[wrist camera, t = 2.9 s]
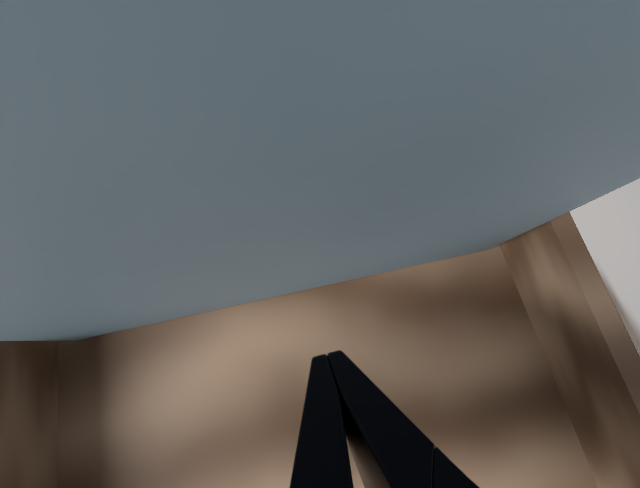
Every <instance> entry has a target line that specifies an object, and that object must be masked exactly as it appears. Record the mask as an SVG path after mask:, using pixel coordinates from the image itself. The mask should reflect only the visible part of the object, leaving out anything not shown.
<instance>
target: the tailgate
mask: <svg viewBox="0 0 640 488" xmlns="http://www.w3.org/2000/svg"><path fill="white" fill-rule="evenodd" d="M639 178H640V0H0V341H76V340H81V339H85V338H90V337H94V336H99V335H103V334H108V333H112V332H117V331H122V330H126V329H131V328H135V327H140V326H144V325H149V324H153V323H158V322H162V321H167V320H171V319H176V318H180V317H185V316H189V315H194V314H199V313H203V312H208V311H212V310H217V309H221V308H226V307H230V306H235V305H239V304H244V303H248V302H253V301H257V300H262V299H267V298H271V297H276V296H280V295H285V294H289V293H294V292H298V291H303V290H307V289H312V288H316V287H321V286H325V285H330V284H335V283H339V282H344V281H348V280H353V279H357V278H362V277H366V276H371V275H375V274H380V273H384V272H389V271H393V270H398V269H403V268H407V267H412V266H416V265H421V264H425V263H430V262H434V261H439V260H443V259H448V258H452V257H457V256H461V255H466V254H471V253H475V252H480V251H484V250H489V249H491V248H493V247H495V246H497V245H499V244H502V243H504V242H506V241H508V240H510V239H512V238H514V237H516V236H518V235H521V234H523V233H525V232H527V231H529V230H531V229H533V228H535V227H537V226H540V225H542V224H544V223H546V222H548V221H550V220H552V219H554V218H556V217H559V216H561V215H563V214H565V213H567V212H569V211H571V210H573V209H575V208H577V207H579V206H582V205H584V204H586V203H588V202H590V201H592V200H594V199H596V198H599V197H601V196H603V195H605V194H607V193H609V192H611V191H613V190H615V189H617V188H620V187H622V186H624V185H626V184H628V183H630V182H632V181H634V180H636V179H639Z"/></svg>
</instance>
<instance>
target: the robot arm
mask: <svg viewBox="0 0 640 488" xmlns="http://www.w3.org/2000/svg"><path fill="white" fill-rule="evenodd" d="M347 442H348V445H349V448H350V450H351V453H352V456H353V458H354V461H355V464H356V466H357V469H358V471H359V474H360V477H361V479H362V482H363V485H364V487H365V488H480V487H478V486H477V485H476V484H475V483H474V482H473V481H472V480H471V479H469V478H468V477H467V476H466V475H465V474H464V473H463V472H462V471H461V470H460V469H459V468H458V467H457V466H456V465H455V464H454V463H453V462H452V461H451V460H450V459H449V458H448V457H447V456H446V455H445V454H444V453H443V452H442V451H441V450H440V449H439V448H438V447H435V445H434V443H433V442H432V441H431V440H430V439H429V438H428V437H427V436H426V435H425V434H424V433H423V432H422V431H421V430H420V429H419V428H418V427H417V426H416V425H415V424H414V423H413V422H412V421H411V420H410V419H409V418H408V417H407V416H406V415H405V414H404V413H403V412H402V411H401V410H400V409H399V408H398V407H397V406H396V405H395V404H394V403H393V402H392V401H391V400H390V399H389V398H388V397H387V396H386V395H385V394H384V393H383V392H382V391H381V390H380V389H379V388H378V387H377V386H376V385H375V384H374V383H373V382H372V381H371V380H370V379H369V378H368V377H367V376H366V375H365V374H364V373H363V372H362V371H361V369H360V368H359V367H358V366H357V365H356V364H355V363H354V362H353V361H352V360H351V359H350V358H349V357H348V356H347V355H346V354H345V353H344V352H343V351H341V350H337V351H333V352H329V353H328V354H327V355H326V354H321V355H317V356H314V357H313V358H312V360H311V366H310V371H309V377H308V383H307V389H306V395H305V400H304V406H303V412H302V418H301V424H300V429H299V435H298V441H297V447H296V453H295V458H294V464H293V470H292V476H291V482H290V487H289V488H354V486H353V479H352V473H351V466H350V459H349V453H348V446H347Z"/></svg>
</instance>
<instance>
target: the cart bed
mask: <svg viewBox="0 0 640 488" xmlns="http://www.w3.org/2000/svg"><path fill="white" fill-rule="evenodd" d="M337 350H341V351H343V352H344V353H345V354H346V355H347V356H348V357H349V358H350V359H351V360H352V361H353V362H354V363H355V364H356V365H357V366H358V367H359V368H360V369H361V371H362V372H363V373H364V374H365V375H366V376H367V377H368V378H369V379H370V380H371V381H372V382H373V383H374V384H375V385H376V386H377V387H378V388H379V389H380V390H381V391H382V392H383V393H384V394H385V395H386V396H387V397H388V398H389V399H390V400H391V401H392V402H393V403H394V404H395V405H396V406H397V407H398V408H399V409H400V410H401V411H402V412H403V413H404V414H405V415H406V416H407V417H408V418H409V419H410V420H411V421H412V422H413V423H414V424H415V425H416V426H417V427H418V428H419V429H420V430H421V431H422V432H423V433H424V434H425V435H426V436H427V437H428V438H429V439H430V440H431V441H432V442H433V443H434V445H435V447H438V448H439V449H440V450H441V451H442V452H443V453H444V454H445V455H446V456H447V457H448V458H449V459H450V460H451V461H452V462H453V463H454V464H455V465H456V466H457V467H458V468H459V469H460V470H461V471H462V472H463V473H464V474H465V475H466V476H467V477H468V478H469V479H471V480H472V481H473V482H474V483H475V484H476V485H477V486H478V487H480V488H640V357H639V355H638V353H637V351H636V348H635V346H634V344H633V342H632V340H631V338H630V336H629V334H628V332H627V330H626V328H625V326H624V324H623V322H622V320H621V318H620V315H619V313H618V311H617V309H616V307H615V305H614V303H613V301H612V299H611V297H610V295H609V293H608V291H607V289H606V287H605V285H604V283H603V280H602V278H601V276H600V274H599V272H598V270H597V268H596V266H595V264H594V262H593V260H592V258H591V256H590V254H589V252H588V250H587V247H586V245H585V243H584V241H583V239H582V237H581V235H580V233H579V231H578V229H577V227H576V225H575V223H574V221H573V219H572V217H571V215H570V212H567V213H565V214H563V215H561V216H559V217H556V218H554V219H552V220H550V221H548V222H546V223H544V224H542V225H540V226H537V227H535V228H533V229H531V230H529V231H527V232H525V233H523V234H521V235H518V236H516V237H514V238H512V239H510V240H508V241H506V242H504V243H502V244H499V245H497V246H495V247H493V248H491V249H489V250H484V251H480V252H475V253H471V254H466V255H461V256H457V257H452V258H448V259H443V260H439V261H434V262H430V263H425V264H421V265H416V266H412V267H407V268H403V269H398V270H393V271H389V272H384V273H380V274H375V275H371V276H366V277H362V278H357V279H353V280H348V281H344V282H339V283H335V284H330V285H325V286H321V287H316V288H312V289H307V290H303V291H298V292H294V293H289V294H285V295H280V296H276V297H271V298H267V299H262V300H257V301H253V302H248V303H244V304H239V305H235V306H230V307H226V308H221V309H217V310H212V311H208V312H203V313H199V314H194V315H189V316H185V317H180V318H176V319H171V320H167V321H162V322H158V323H153V324H149V325H144V326H140V327H135V328H131V329H126V330H122V331H117V332H112V333H108V334H103V335H99V336H94V337H90V338H85V339H81V340H76V341H0V488H289V487H290V482H291V476H292V470H293V464H294V458H295V453H296V447H297V441H298V435H299V429H300V424H301V418H302V412H303V406H304V400H305V395H306V389H307V383H308V377H309V371H310V366H311V360H312V358H313V357H314V356H317V355H321V354H326V355H327V354H328V353H329V352H333V351H337ZM347 446H348V453H349V459H350V466H351V473H352V479H353V486H354V488H365V487H364V485H363V482H362V479H361V477H360V474H359V471H358V469H357V466H356V464H355V461H354V458H353V456H352V453H351V450H350V448H349V445H348V442H347Z"/></svg>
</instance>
